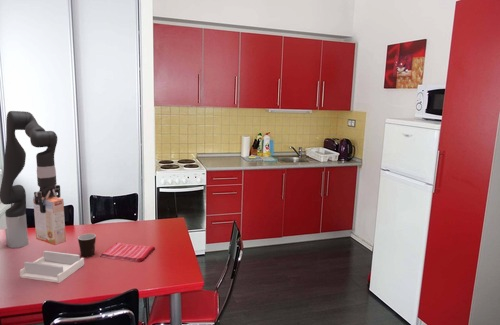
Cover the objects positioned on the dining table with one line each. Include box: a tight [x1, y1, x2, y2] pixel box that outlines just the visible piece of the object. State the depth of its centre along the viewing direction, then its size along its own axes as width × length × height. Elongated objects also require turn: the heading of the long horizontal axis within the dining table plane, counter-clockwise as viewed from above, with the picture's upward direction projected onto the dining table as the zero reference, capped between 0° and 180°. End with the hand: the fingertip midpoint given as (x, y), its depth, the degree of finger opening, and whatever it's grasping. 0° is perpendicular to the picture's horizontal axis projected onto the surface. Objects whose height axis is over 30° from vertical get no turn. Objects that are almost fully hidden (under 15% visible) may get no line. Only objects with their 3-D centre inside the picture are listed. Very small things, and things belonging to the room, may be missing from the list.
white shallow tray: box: [19, 250, 85, 284], centre depth 175 cm, size 20×18×6 cm
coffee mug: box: [77, 233, 97, 258], centre depth 194 cm, size 12×9×10 cm
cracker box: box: [32, 196, 67, 246], centre depth 171 cm, size 14×6×21 cm, turn 62°
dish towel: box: [99, 242, 156, 263], centre depth 197 cm, size 17×24×3 cm
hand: (49, 210), depth 170 cm, fingers closed on cracker box, 7 cm apart
